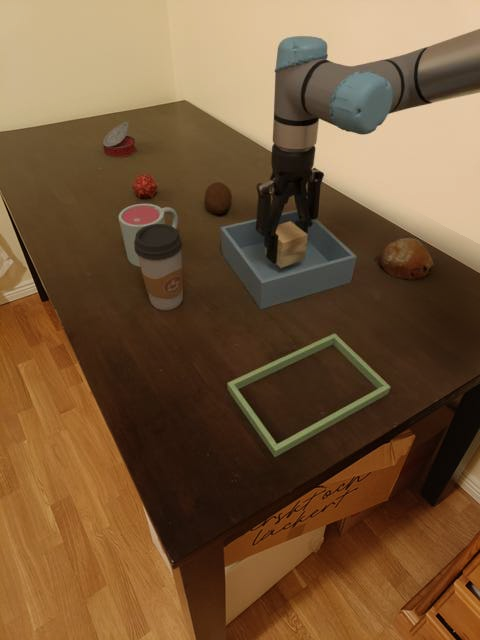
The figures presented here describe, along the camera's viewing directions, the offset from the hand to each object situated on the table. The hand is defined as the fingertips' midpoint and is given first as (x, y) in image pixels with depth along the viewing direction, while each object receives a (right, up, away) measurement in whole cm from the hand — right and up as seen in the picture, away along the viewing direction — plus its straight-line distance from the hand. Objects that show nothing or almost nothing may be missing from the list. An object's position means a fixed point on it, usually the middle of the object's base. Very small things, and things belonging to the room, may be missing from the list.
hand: (284, 255), depth 90 cm
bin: (0, -2, +2) cm, 3 cm away
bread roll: (+26, -2, +2) cm, 26 cm away
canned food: (-47, +40, +47) cm, 78 cm away
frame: (+1, -25, -22) cm, 33 cm away
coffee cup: (-24, -10, -6) cm, 26 cm away
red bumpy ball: (-34, +20, +25) cm, 47 cm away
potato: (-15, +15, +20) cm, 29 cm away
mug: (-28, +2, +7) cm, 29 cm away
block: (0, 0, 0) cm, 0 cm away
